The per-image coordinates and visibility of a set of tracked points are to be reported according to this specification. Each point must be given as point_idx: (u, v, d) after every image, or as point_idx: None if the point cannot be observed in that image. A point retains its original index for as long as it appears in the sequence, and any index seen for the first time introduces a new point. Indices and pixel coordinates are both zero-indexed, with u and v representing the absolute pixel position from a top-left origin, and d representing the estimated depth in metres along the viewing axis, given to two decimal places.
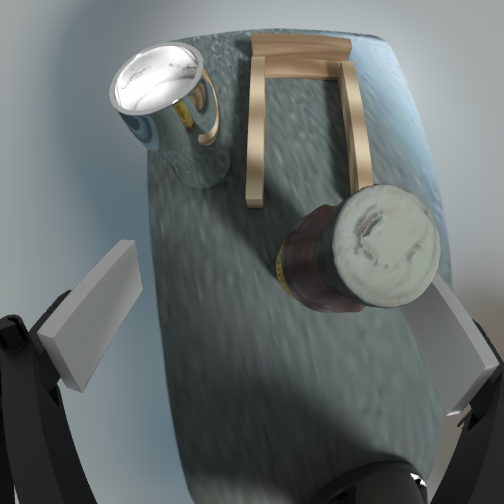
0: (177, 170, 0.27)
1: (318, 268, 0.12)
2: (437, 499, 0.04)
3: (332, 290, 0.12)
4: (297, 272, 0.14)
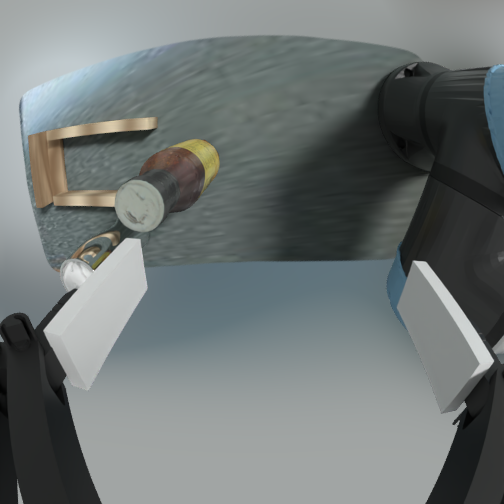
0: None
1: None
2: (433, 498, 0.04)
3: (174, 205, 0.23)
4: (173, 211, 0.26)
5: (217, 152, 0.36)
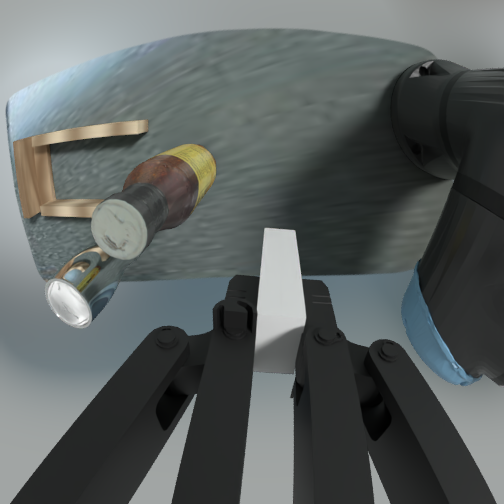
0: (128, 265, 0.37)
1: None
2: (296, 489, 0.05)
3: (162, 225, 0.20)
4: (163, 229, 0.22)
5: None
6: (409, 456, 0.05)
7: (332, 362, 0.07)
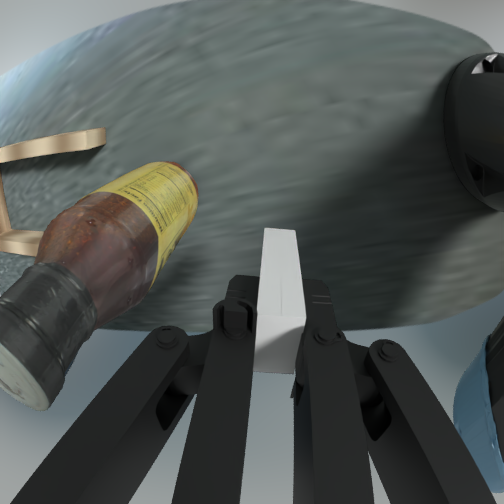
0: None
1: None
2: (296, 489, 0.05)
3: (89, 335, 0.10)
4: None
5: None
6: (409, 456, 0.05)
7: (332, 362, 0.07)
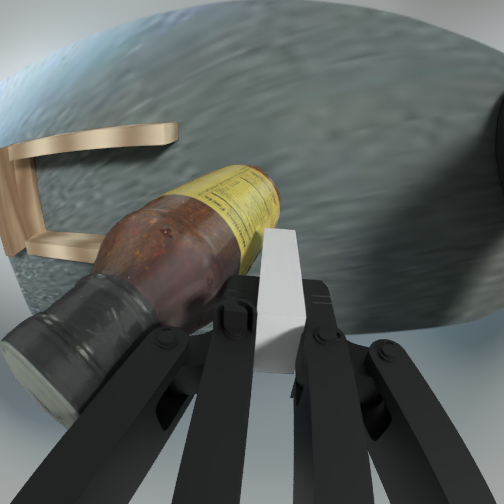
0: None
1: None
2: (296, 489, 0.05)
3: None
4: None
5: None
6: (409, 456, 0.05)
7: (332, 362, 0.07)
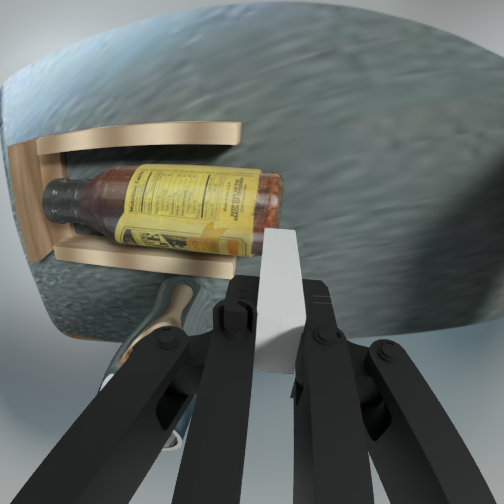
0: None
1: None
2: (296, 489, 0.05)
3: (78, 221, 0.21)
4: None
5: (272, 213, 0.18)
6: (409, 456, 0.05)
7: (332, 362, 0.07)
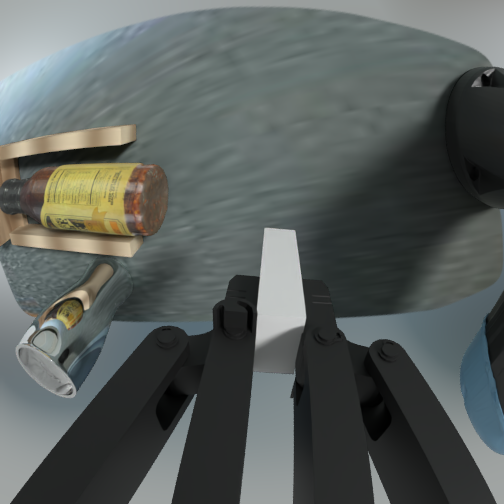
0: (117, 308, 0.29)
1: None
2: (296, 489, 0.05)
3: (21, 212, 0.23)
4: None
5: (137, 198, 0.20)
6: (409, 456, 0.05)
7: (332, 362, 0.07)
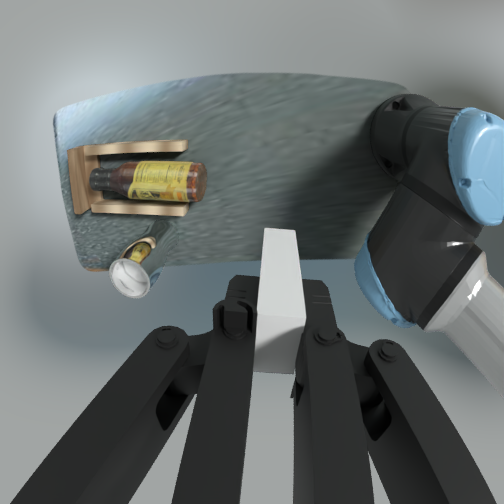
0: (169, 251, 0.49)
1: None
2: (296, 489, 0.05)
3: (108, 188, 0.43)
4: None
5: (194, 179, 0.40)
6: (409, 456, 0.05)
7: (332, 362, 0.07)
